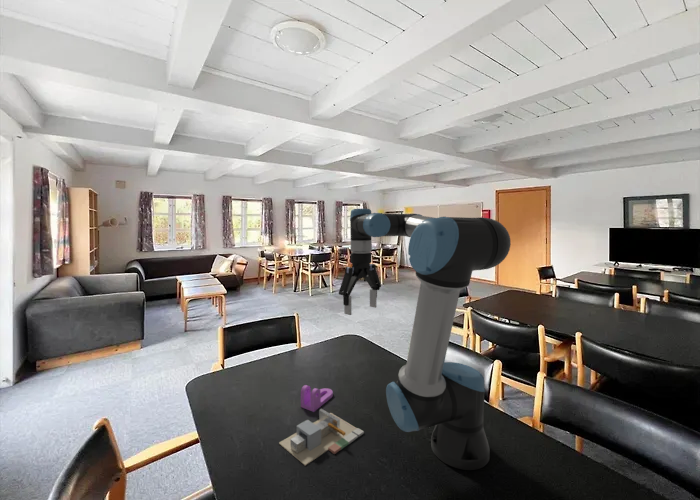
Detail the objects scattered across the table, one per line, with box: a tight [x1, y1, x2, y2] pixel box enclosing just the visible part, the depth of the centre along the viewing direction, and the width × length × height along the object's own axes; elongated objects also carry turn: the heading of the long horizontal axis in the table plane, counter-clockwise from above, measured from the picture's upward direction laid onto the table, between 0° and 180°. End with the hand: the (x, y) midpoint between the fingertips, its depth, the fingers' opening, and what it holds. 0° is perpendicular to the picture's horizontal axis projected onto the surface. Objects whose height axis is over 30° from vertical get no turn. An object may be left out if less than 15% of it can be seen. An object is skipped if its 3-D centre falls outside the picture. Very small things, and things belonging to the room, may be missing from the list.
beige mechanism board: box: [278, 412, 365, 467], centre depth 92 cm, size 14×20×5 cm
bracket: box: [300, 384, 334, 413], centre depth 112 cm, size 13×6×7 cm, turn 149°
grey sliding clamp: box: [290, 408, 345, 453], centre depth 90 cm, size 12×14×5 cm
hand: (361, 310), depth 116 cm, fingers open, 13 cm apart
